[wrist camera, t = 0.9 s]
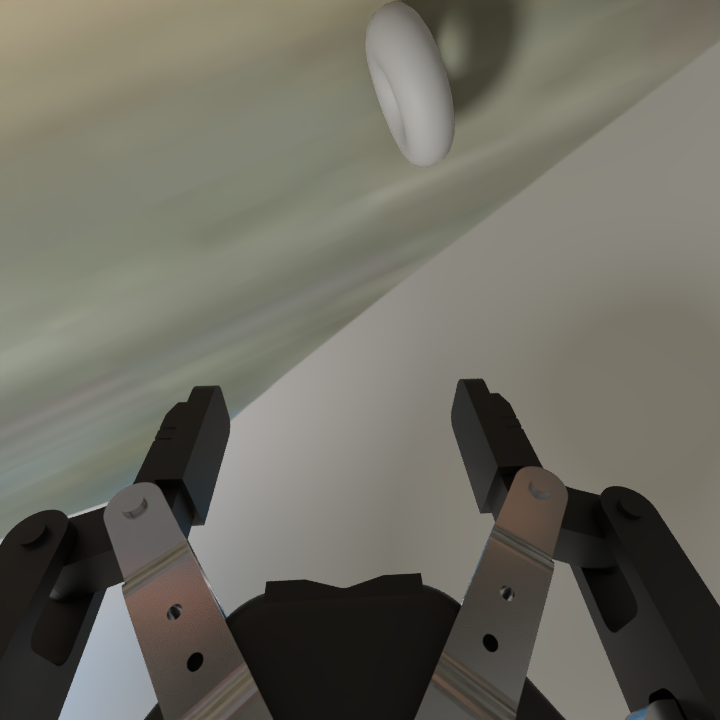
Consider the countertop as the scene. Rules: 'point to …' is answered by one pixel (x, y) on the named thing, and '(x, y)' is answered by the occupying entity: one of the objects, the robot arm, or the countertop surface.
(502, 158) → the countertop surface
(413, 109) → the donut
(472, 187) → the countertop surface
